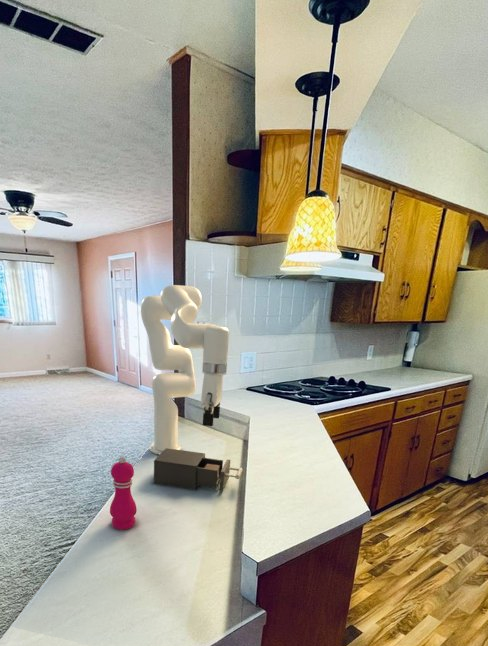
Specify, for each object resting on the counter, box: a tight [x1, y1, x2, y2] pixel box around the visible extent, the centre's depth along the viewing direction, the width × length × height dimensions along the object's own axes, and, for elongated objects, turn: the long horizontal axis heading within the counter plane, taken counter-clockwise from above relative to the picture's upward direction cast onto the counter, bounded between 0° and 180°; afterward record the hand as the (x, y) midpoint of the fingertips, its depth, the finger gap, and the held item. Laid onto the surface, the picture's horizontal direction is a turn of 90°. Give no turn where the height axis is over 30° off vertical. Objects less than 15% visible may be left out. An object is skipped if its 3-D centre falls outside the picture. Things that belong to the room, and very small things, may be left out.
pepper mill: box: [109, 456, 138, 531], centre depth 110 cm, size 7×7×20 cm
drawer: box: [196, 457, 244, 492], centre depth 140 cm, size 18×11×7 cm, turn 77°
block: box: [205, 464, 220, 480], centre depth 140 cm, size 4×4×4 cm
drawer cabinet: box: [153, 448, 206, 491], centre depth 142 cm, size 15×13×9 cm
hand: (211, 421), depth 133 cm, fingers open, 9 cm apart
